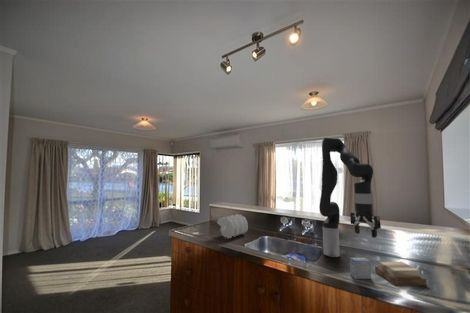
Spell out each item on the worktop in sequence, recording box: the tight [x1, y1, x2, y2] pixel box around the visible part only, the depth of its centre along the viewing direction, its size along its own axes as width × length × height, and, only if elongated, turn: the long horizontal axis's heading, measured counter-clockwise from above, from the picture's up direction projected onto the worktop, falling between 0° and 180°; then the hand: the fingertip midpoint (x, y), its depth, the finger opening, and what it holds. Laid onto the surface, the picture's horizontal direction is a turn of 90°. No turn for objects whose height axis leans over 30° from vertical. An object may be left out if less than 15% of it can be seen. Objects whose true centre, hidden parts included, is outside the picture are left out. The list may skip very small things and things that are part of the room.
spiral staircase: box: [216, 213, 249, 239], centre depth 175 cm, size 18×18×25 cm
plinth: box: [374, 261, 428, 287], centre depth 103 cm, size 14×14×6 cm
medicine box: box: [349, 257, 372, 280], centre depth 104 cm, size 8×4×9 cm, turn 92°
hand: (365, 235), depth 105 cm, fingers open, 8 cm apart
